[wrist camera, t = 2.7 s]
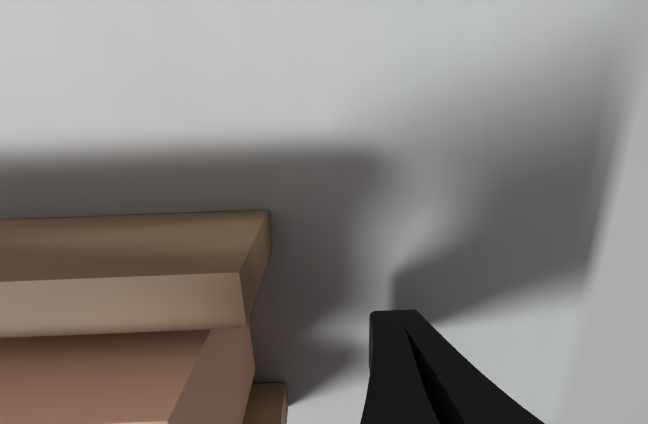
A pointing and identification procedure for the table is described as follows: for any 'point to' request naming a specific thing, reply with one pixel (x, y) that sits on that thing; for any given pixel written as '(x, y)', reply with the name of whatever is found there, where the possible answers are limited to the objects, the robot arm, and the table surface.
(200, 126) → the table surface
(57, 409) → the block
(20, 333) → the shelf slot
